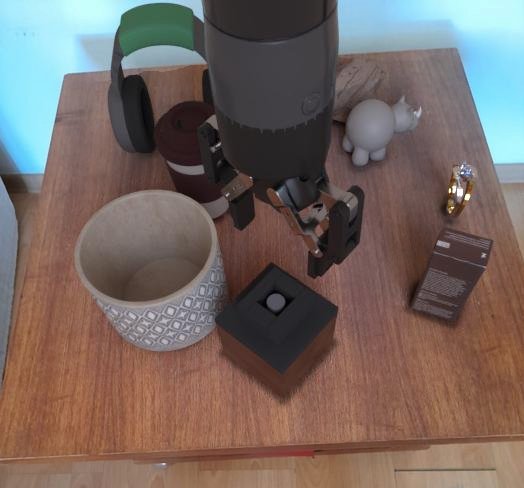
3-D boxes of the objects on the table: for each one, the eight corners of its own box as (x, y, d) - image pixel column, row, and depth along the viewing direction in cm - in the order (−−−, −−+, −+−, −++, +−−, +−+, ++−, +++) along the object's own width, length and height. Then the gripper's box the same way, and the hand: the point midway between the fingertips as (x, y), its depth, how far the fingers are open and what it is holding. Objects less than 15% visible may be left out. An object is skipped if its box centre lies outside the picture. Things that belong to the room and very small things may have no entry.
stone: (386, 95, 82) (351, 43, 78) (409, 91, 75) (372, 33, 70) (320, 159, 85) (283, 112, 81) (336, 162, 77) (296, 110, 73)
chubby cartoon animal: (424, 154, 76) (439, 106, 68) (352, 174, 75) (359, 128, 67) (404, 124, 79) (417, 74, 71) (335, 142, 78) (340, 95, 70)
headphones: (240, 113, 82) (226, -18, 64) (242, 161, 77) (228, 34, 59) (129, 122, 82) (84, -6, 64) (124, 170, 78) (74, 47, 60)
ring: (438, 190, 73) (455, 147, 66) (460, 193, 72) (479, 150, 65) (436, 227, 70) (453, 186, 63) (459, 230, 70) (478, 189, 62)
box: (461, 296, 65) (496, 239, 54) (452, 323, 63) (487, 270, 52) (417, 281, 66) (442, 223, 55) (407, 308, 65) (431, 253, 54)
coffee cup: (251, 188, 75) (242, 102, 61) (222, 236, 71) (206, 156, 58) (194, 170, 77) (174, 83, 63) (163, 216, 73) (135, 134, 60)
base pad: (271, 266, 59) (270, 248, 55) (338, 312, 56) (341, 295, 52) (215, 323, 56) (210, 307, 53) (282, 374, 53) (281, 360, 49)
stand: (273, 301, 66) (271, 266, 59) (332, 342, 63) (338, 312, 56) (223, 352, 63) (215, 323, 56) (283, 399, 60) (282, 374, 53)
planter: (244, 266, 69) (236, 203, 57) (206, 369, 62) (187, 321, 51) (138, 242, 71) (109, 178, 60) (91, 339, 65) (48, 287, 53)
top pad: (275, 281, 57) (274, 266, 54) (313, 307, 55) (314, 293, 52) (238, 318, 55) (236, 305, 52) (277, 347, 53) (276, 334, 50)
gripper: (409, 93, 28) (369, 259, 43) (227, 7, 32) (248, 184, 47) (330, 171, 26) (317, 318, 40) (147, 67, 30) (195, 233, 45)
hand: (280, 246), depth 44 cm, fingers open, 8 cm apart
